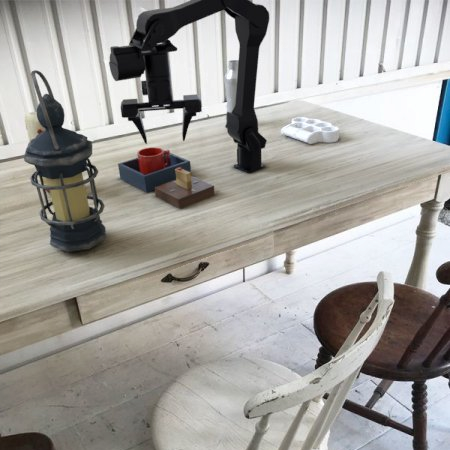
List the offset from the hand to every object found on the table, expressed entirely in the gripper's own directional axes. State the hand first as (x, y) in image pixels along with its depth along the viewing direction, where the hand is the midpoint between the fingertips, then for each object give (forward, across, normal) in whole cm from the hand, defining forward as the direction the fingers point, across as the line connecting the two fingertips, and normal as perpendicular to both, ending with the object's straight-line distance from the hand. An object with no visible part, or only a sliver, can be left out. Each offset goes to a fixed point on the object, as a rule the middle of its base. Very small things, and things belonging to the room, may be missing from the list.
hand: (165, 141), depth 128 cm
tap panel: (+12, -4, +6) cm, 14 cm away
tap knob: (+9, -4, +6) cm, 12 cm away
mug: (+11, +3, -8) cm, 14 cm away
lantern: (+12, +20, +26) cm, 35 cm away
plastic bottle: (+12, -24, -46) cm, 53 cm away
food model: (+12, +30, -4) cm, 32 cm away
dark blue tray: (+12, +4, -7) cm, 14 cm away
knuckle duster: (+12, -45, -31) cm, 56 cm away
